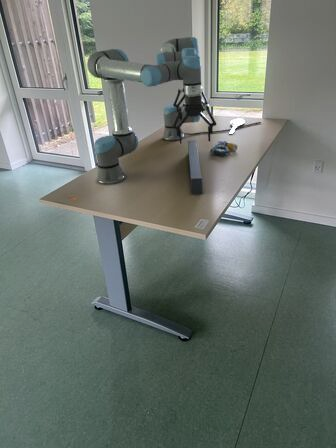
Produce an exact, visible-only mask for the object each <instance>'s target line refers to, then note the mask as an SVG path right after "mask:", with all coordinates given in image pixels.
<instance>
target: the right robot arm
mask: <svg viewBox="0 0 336 448" xmlns="http://www.w3.org/2000/svg"><path fill="white" fill-rule="evenodd" d="M186 56H199V57H200V49H199V43H198V38H196V36H188V37H179V38H172V39H169V40H167V41H166V42H164V43H163V44H162V45H161V48H160V53H157V54H156V57H155V58H156V59H155V60H156V65H159V64H162V63H163V62H167V61H179V62H182V61H183V58H184V57H186ZM182 87H183V88H178V89H177V94H176V97H175V99H174V101H173V104H169V105H166V106H165V107H164V108H163V121H164V130H163V135H162V139H163V140H164V141H167V142H176V141H180V136H177V130H176V129H173V124H174V121H175V119H176V116H177V114H178V110H179V107H185V96H186V95H185V90H184V80H182ZM182 93H183V95H182V97H181V98H180V95H181V94H182ZM201 95H202V106H205V105H207V104H208V105H209V101H208V99H207V97H206V95H205V93H204V91H203V90H202V93H201ZM179 98H180V100H179ZM181 104H182V105H181ZM205 111H206V110H205V109H203V110H202V111H201V112H202V113H203V114H204V112H205ZM185 114H186V111H185V110H183V112H181V115H180V117H179V120H178V122H177V124H176V126H177V125H178V124H179V123H180V121H181V120H182V118H183V117H184V116H185ZM200 120H201V116H200V115H199V116H193V117H190V116H189V117H188V118H187V119H186V120H185V122H184V123H183V124H187V123H189V124H190V123H198V122H200ZM258 124H261V121H258V122H252V123H249V124H246V125H245V124H244V125H240V126H237V127H236V128H235V130H238V129H242V128H245V127H246V128H247V127H249V126H253V125H258ZM180 128H181V140H182V139H184V137H185V135H186V136H187V135H188V136H193V135H199V134H208V131H201V132H194V133H192V132H191V133H188V132H183V129H182V126H181V127H180ZM231 129H232V128H228V129H223V130H213V133H212V134H214V133H215V134H216V133H222V132H228V131H229V132H230V131H231Z"/></svg>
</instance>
